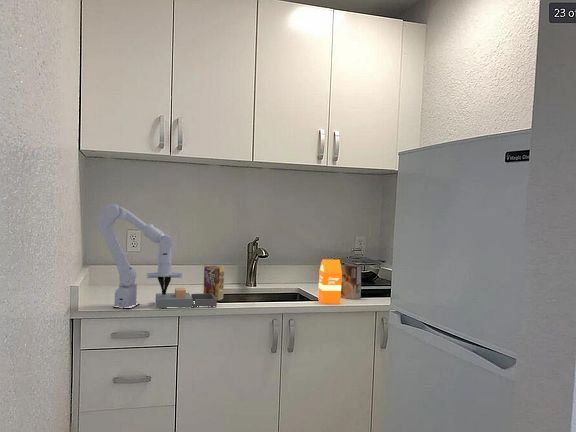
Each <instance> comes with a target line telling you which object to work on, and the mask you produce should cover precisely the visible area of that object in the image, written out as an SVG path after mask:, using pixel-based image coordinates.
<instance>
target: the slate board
mask: <svg viewBox="0 0 576 432" xmlns="http://www.w3.org/2000/svg"><path fill="white" fill-rule="evenodd" d="M156 305H157V306H156ZM155 306H156V309H157V308H167V307H192V297H191V294H190V292H186V297H176V296H175V292H166V295H162V292H160V293H155ZM192 308H193V307H192Z"/></svg>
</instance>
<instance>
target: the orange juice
mask: <svg viewBox="0 0 576 432" xmlns="http://www.w3.org/2000/svg"><path fill="white" fill-rule="evenodd" d="M341 265H342V264H341V260H340V259H322V260H321V262H320V268H319V272H318V273H319V276H318V293H317V294H318V296H317V297H318V299H317V300H318V301H319V303H321V302H322V303H321V304H341V301H342V300H341V298H342V297H341V278H342V272H341Z"/></svg>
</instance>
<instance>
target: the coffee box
mask: <svg viewBox="0 0 576 432" xmlns="http://www.w3.org/2000/svg"><path fill="white" fill-rule="evenodd" d="M340 265H341V272H342V278H341V298H343V299H345V298H346V299H352V300H357V299H361V298H362V295H361V293H362V268H363V267H362V265H358V264H349V263H343V264H340Z"/></svg>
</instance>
